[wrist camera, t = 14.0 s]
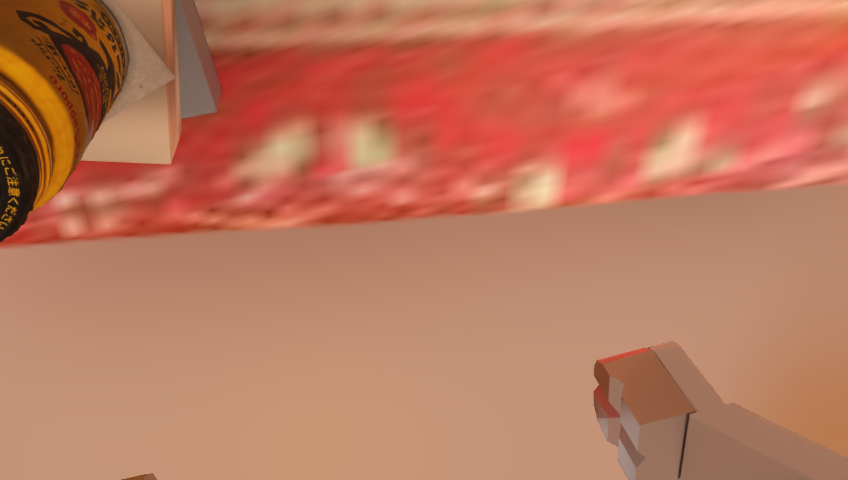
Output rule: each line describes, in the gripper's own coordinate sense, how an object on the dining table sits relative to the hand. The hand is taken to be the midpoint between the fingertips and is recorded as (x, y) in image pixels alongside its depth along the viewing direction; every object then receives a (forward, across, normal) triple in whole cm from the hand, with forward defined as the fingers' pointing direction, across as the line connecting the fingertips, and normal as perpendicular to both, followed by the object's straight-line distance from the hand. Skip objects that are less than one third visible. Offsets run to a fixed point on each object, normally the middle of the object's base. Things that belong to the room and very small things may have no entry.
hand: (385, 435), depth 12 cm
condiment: (+21, +11, -3) cm, 24 cm away
